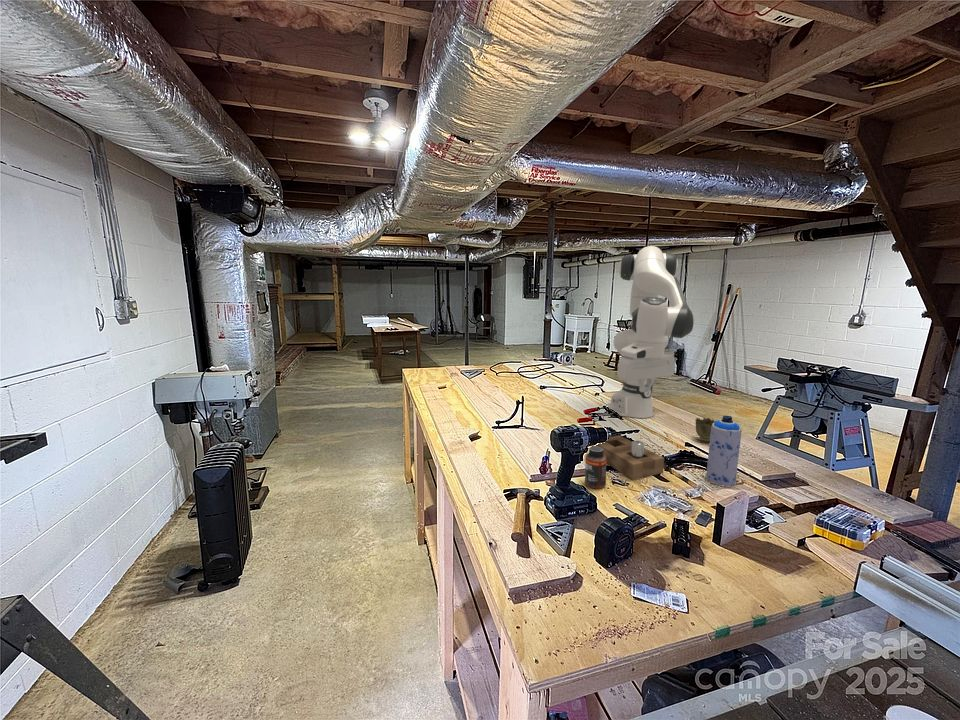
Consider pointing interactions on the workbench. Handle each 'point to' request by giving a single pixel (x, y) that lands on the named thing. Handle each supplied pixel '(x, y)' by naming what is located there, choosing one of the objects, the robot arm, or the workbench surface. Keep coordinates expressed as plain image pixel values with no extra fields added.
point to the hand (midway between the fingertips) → (644, 391)
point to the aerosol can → (723, 452)
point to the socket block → (631, 459)
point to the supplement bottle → (595, 468)
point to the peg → (637, 449)
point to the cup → (704, 428)
